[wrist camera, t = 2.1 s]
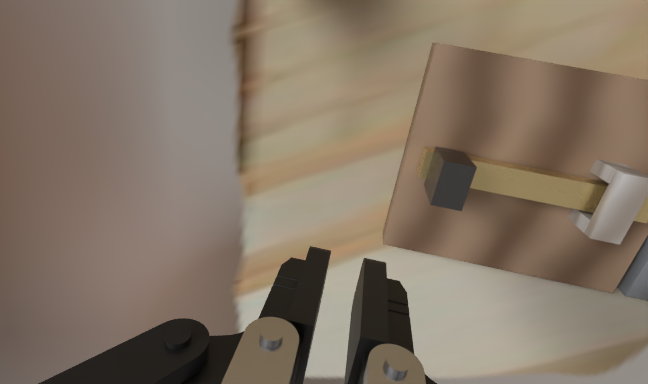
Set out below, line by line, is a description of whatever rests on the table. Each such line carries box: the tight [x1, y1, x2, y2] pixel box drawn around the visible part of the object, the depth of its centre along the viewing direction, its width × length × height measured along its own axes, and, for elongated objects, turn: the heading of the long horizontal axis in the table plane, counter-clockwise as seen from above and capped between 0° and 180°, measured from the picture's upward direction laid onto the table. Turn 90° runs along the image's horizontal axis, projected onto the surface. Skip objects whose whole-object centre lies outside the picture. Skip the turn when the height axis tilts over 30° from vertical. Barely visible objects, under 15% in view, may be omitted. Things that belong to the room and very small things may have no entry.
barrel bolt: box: [417, 146, 648, 223], centre depth 24 cm, size 16×3×5 cm, turn 81°
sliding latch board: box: [383, 43, 648, 301], centre depth 26 cm, size 26×16×5 cm, turn 81°
